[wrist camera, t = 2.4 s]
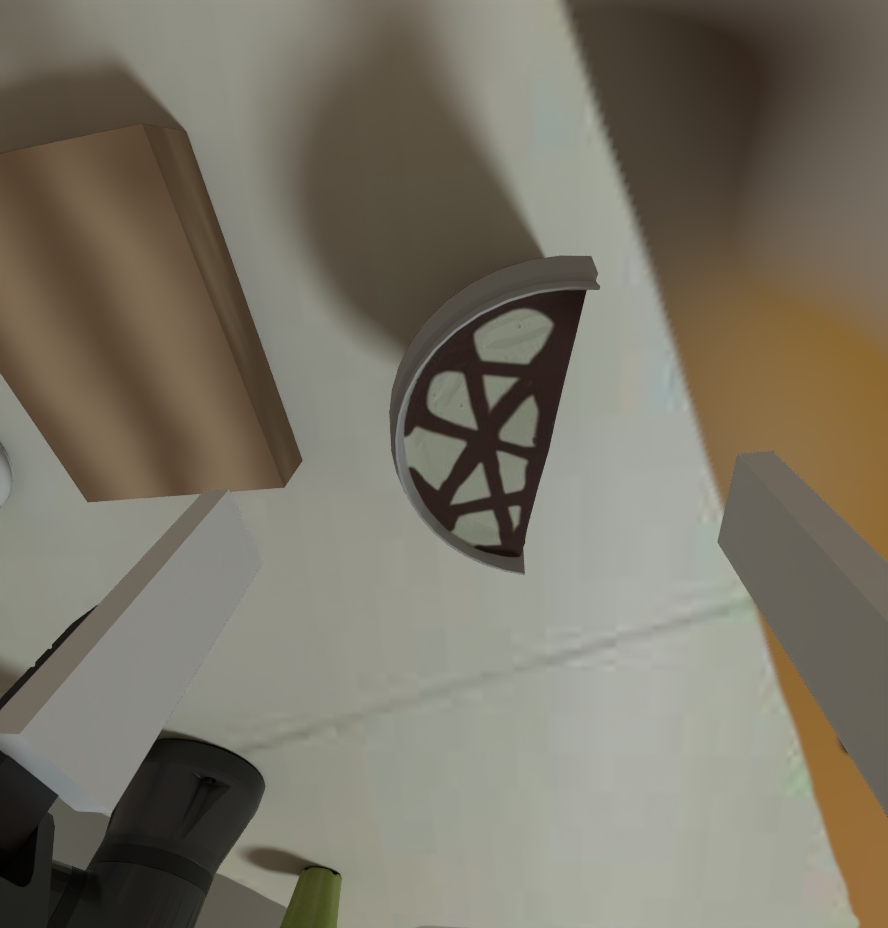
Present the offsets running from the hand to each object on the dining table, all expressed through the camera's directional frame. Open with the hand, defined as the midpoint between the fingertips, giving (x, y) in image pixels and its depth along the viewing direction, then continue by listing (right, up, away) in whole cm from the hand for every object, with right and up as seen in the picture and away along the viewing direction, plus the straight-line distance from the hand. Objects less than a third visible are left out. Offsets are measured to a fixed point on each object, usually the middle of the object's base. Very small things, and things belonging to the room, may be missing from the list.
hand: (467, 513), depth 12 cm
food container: (+1, +7, +12) cm, 14 cm away
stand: (-17, +8, +13) cm, 23 cm away
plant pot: (-19, -60, +55) cm, 84 cm away
